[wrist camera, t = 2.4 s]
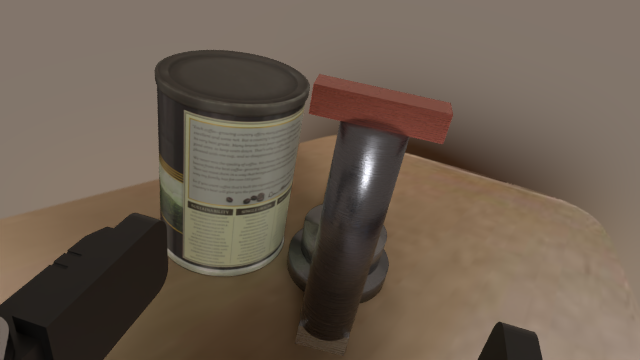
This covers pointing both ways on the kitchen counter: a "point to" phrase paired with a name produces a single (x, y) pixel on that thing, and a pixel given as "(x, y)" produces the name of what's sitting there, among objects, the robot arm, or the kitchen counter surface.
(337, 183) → the crank
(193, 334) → the kitchen counter surface
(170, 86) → the coffee can
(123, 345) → the kitchen counter surface
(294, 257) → the base
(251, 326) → the kitchen counter surface
